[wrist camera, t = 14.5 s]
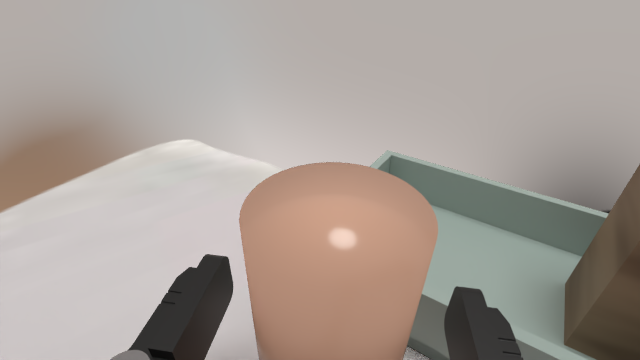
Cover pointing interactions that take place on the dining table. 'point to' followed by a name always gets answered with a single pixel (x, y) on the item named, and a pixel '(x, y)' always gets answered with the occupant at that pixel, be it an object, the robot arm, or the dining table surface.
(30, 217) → the dining table surface
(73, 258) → the dining table surface
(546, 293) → the tray
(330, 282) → the terracotta cylinder
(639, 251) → the walnut block
